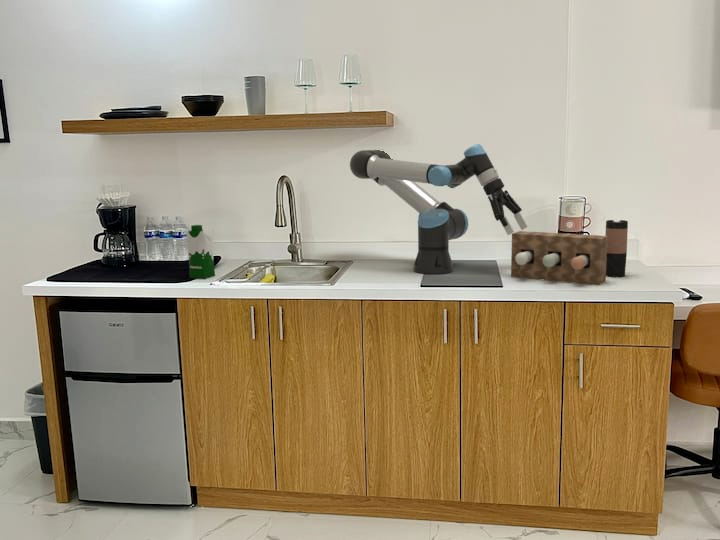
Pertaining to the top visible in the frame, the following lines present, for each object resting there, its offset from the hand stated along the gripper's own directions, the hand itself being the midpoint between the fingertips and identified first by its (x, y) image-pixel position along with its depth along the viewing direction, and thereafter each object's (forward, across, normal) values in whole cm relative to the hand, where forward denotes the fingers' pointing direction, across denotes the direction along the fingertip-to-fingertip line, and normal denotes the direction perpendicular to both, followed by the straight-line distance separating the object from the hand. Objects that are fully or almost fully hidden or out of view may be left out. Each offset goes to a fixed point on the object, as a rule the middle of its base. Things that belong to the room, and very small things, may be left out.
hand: (518, 230), depth 279 cm
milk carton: (-41, -67, +93) cm, 121 cm away
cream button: (+12, -14, -2) cm, 19 cm away
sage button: (+17, -14, -11) cm, 25 cm away
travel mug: (+31, +8, -21) cm, 38 cm away
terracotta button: (+23, -14, -19) cm, 33 cm away
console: (+22, -8, -7) cm, 25 cm away
